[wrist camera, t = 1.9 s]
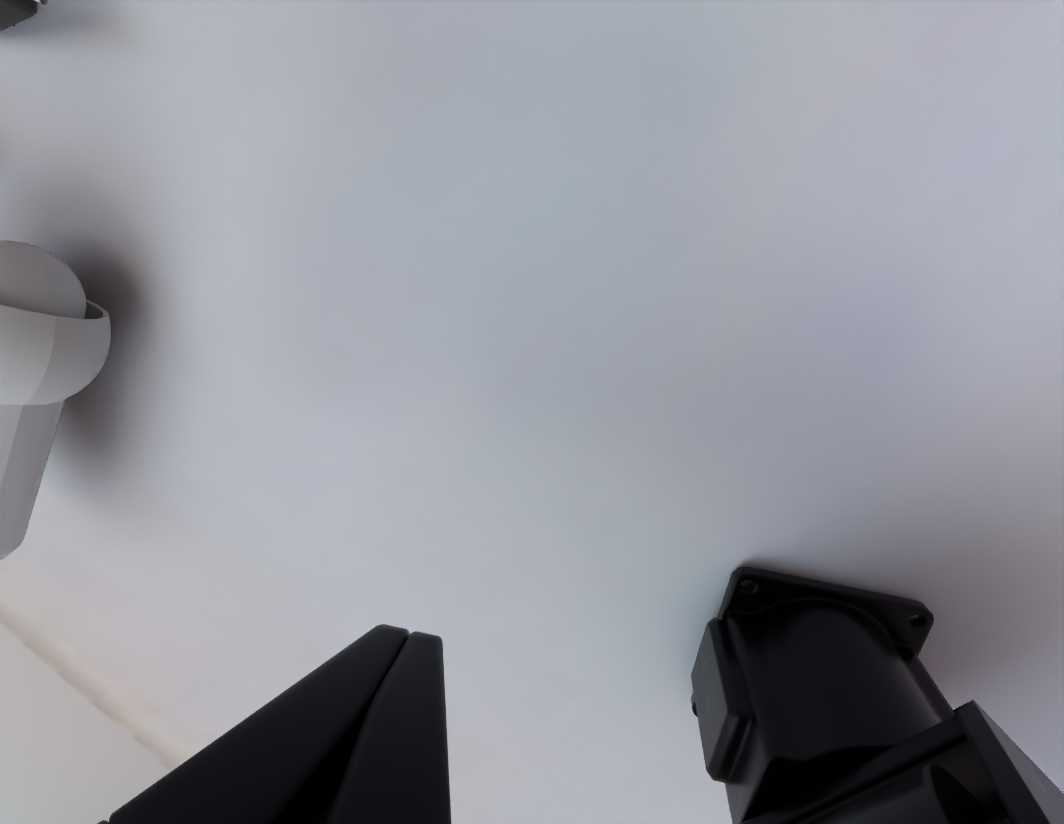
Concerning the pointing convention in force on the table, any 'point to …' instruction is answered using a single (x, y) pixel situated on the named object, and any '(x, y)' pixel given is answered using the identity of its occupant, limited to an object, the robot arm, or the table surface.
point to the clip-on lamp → (38, 355)
